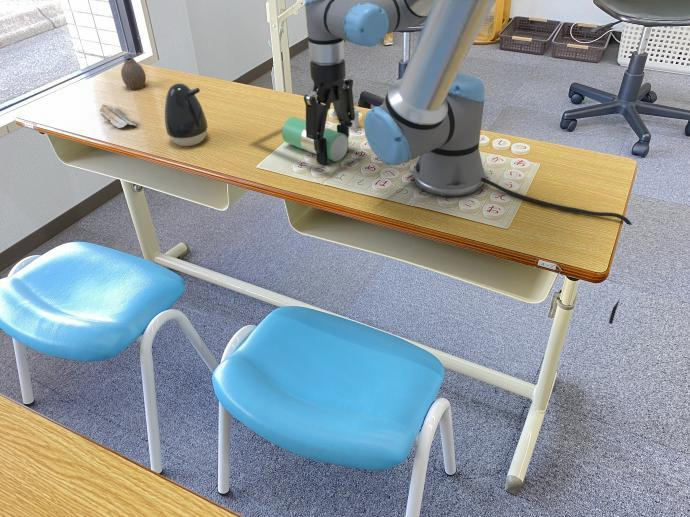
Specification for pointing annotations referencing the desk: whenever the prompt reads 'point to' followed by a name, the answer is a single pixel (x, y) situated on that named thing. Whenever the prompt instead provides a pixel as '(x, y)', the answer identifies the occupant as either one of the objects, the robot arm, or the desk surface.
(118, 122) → the fossil
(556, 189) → the desk surface
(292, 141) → the can
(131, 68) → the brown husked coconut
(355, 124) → the garden wall model
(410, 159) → the robot arm
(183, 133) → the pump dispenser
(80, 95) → the desk surface
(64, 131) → the desk surface
